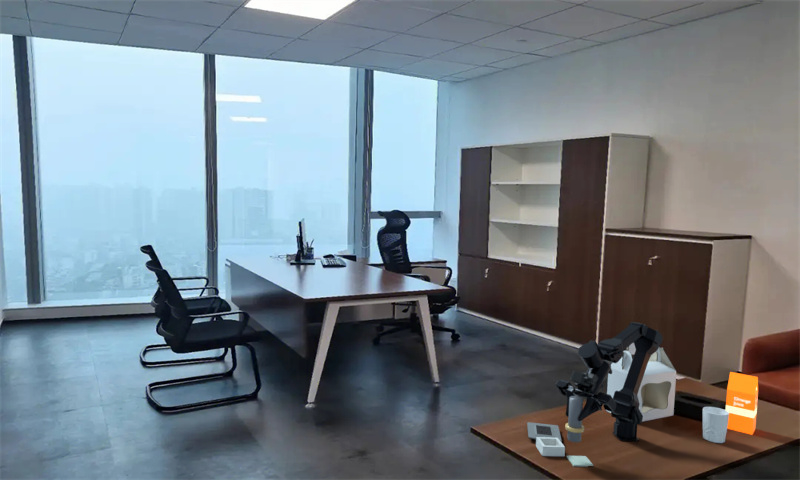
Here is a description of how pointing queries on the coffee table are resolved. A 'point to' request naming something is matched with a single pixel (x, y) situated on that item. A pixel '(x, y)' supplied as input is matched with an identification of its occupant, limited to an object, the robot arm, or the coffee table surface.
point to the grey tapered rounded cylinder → (574, 419)
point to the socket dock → (550, 446)
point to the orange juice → (742, 402)
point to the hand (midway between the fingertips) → (572, 418)
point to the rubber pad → (579, 461)
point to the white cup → (715, 424)
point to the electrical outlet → (543, 431)
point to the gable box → (648, 383)
